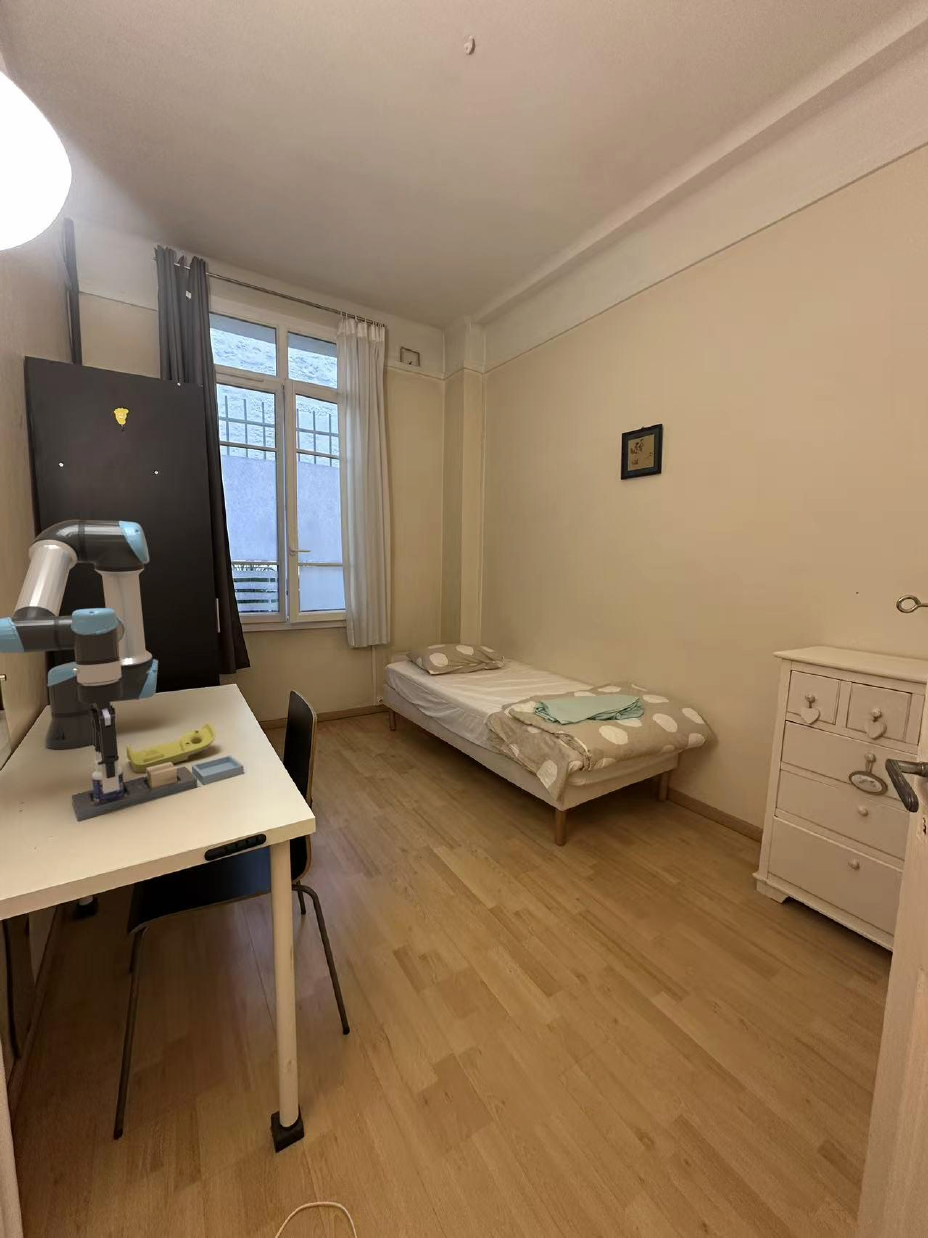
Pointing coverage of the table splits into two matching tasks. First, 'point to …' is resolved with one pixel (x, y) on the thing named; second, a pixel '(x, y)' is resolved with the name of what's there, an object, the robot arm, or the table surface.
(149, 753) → the plastic component
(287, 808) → the table surface
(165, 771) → the beech block
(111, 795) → the pill bottle
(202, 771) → the tray
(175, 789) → the rail
